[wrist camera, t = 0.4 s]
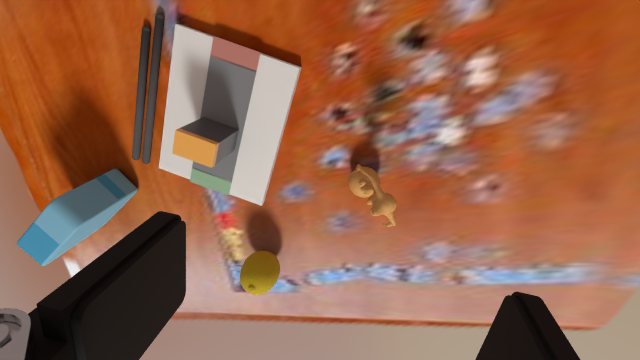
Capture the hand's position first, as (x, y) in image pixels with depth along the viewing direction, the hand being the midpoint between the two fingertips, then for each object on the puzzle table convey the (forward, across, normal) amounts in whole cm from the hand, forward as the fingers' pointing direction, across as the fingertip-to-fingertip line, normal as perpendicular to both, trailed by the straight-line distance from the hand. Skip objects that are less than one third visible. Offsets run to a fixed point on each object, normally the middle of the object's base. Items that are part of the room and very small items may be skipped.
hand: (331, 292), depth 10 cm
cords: (+36, +29, +4) cm, 46 cm away
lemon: (+36, +10, +26) cm, 46 cm away
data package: (+36, +37, +22) cm, 56 cm away
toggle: (+34, +19, +8) cm, 39 cm away
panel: (+36, +18, +6) cm, 40 cm away
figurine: (+36, -2, +9) cm, 37 cm away
